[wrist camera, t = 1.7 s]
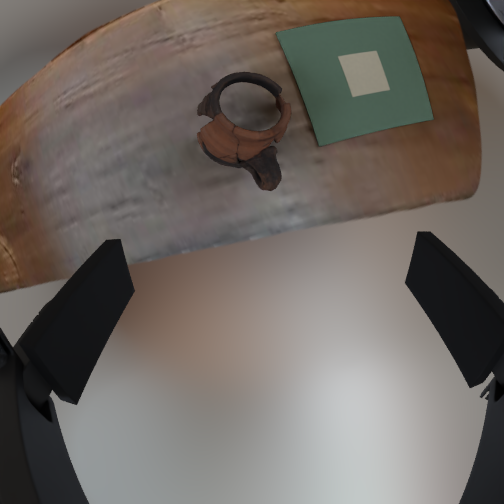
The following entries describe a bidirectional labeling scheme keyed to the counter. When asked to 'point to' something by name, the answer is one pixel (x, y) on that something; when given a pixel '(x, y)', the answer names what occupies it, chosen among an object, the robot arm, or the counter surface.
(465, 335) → the robot arm
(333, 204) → the counter surface
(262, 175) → the broken pottery ring
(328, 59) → the centre mat
